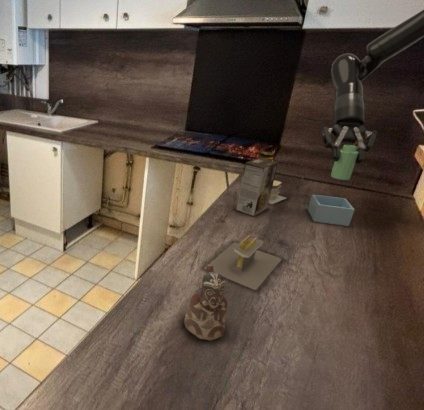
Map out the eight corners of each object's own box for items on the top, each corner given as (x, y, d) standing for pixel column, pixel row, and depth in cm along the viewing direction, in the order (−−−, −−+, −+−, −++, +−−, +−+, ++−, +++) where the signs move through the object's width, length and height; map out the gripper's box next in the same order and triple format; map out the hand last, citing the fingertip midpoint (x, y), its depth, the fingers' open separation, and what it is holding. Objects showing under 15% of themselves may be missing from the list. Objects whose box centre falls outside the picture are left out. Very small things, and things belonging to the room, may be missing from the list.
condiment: (272, 185, 138) (279, 155, 133) (249, 184, 138) (255, 154, 134) (265, 179, 144) (271, 150, 140) (243, 178, 145) (249, 149, 140)
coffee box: (249, 203, 122) (258, 157, 115) (267, 209, 117) (279, 161, 111) (235, 209, 116) (244, 162, 110) (254, 216, 112) (265, 167, 105)
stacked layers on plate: (262, 190, 133) (265, 176, 131) (286, 198, 126) (290, 183, 124) (247, 196, 128) (250, 181, 125) (272, 204, 121) (276, 189, 119)
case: (340, 214, 114) (345, 198, 112) (348, 226, 106) (354, 209, 104) (307, 209, 117) (312, 194, 115) (313, 221, 109) (318, 204, 107)
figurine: (185, 336, 64) (194, 281, 59) (182, 310, 71) (190, 258, 66) (227, 342, 63) (239, 286, 58) (220, 315, 69) (231, 263, 65)
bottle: (347, 175, 108) (357, 144, 104) (351, 180, 104) (362, 148, 100) (328, 173, 109) (338, 143, 106) (332, 178, 105) (342, 147, 101)
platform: (203, 268, 84) (208, 244, 82) (234, 242, 97) (239, 220, 94) (255, 290, 77) (262, 264, 74) (282, 258, 89) (288, 235, 86)
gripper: (325, 102, 107) (324, 151, 101) (383, 105, 103) (384, 157, 97) (317, 117, 114) (314, 164, 108) (370, 121, 109) (371, 170, 104)
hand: (347, 160), depth 103 cm, fingers closed on bottle, 5 cm apart
